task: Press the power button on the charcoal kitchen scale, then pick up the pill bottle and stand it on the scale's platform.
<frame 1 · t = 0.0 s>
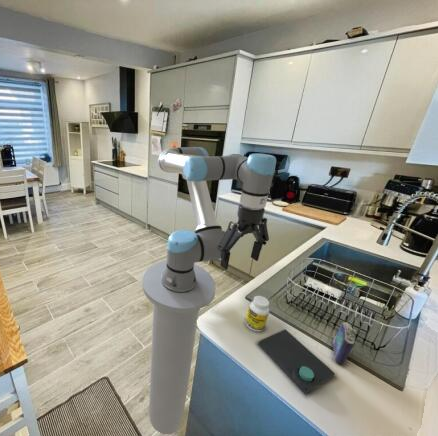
hand: (239, 263, 83), 20 cm above the counter, tool pointing down, fingers open, 13 cm apart
pill bottle: (254, 325, 84), on the counter
flask: (338, 353, 74), on the counter
scale button: (306, 373, 65), point 3 cm above the counter, slide at 0.1 cm
scale: (293, 359, 72), on the counter
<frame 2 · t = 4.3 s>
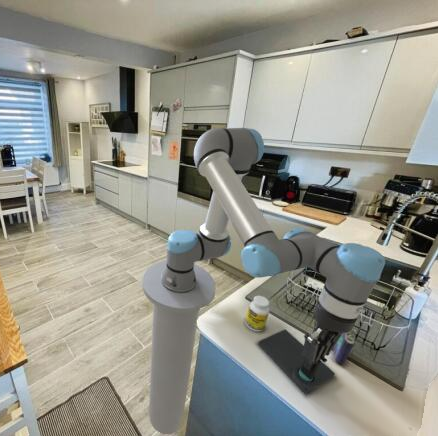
hand: (306, 373, 65), 4 cm above the counter, tool pointing down, fingers closed
scale button: (305, 375, 65), point 3 cm above the counter, slide at -0.7 cm, touching gripper
everything else where it was.
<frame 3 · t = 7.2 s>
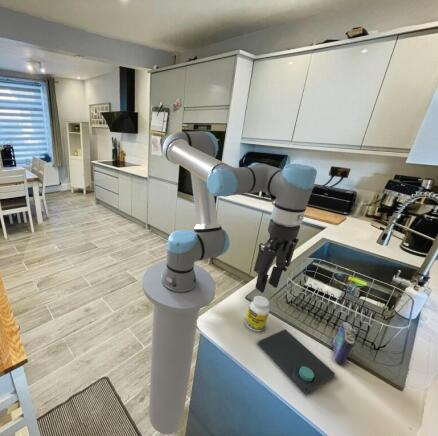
hand: (266, 287, 76), 17 cm above the counter, tool pointing down, fingers open, 5 cm apart
scale button: (306, 373, 65), point 3 cm above the counter, slide at 0.1 cm
everything else where it was.
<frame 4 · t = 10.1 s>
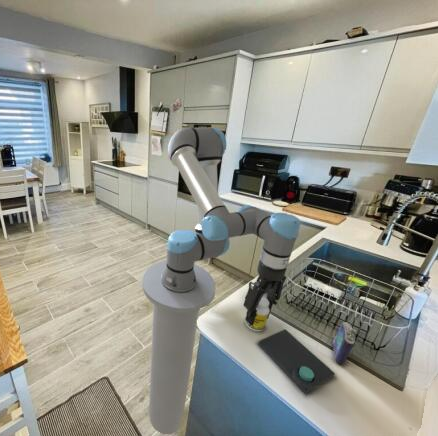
hand: (256, 319, 82), 3 cm above the counter, tool pointing down, fingers closed on pill bottle, 6 cm apart
pill bottle: (254, 325, 84), on the counter, touching gripper
everything else where it was.
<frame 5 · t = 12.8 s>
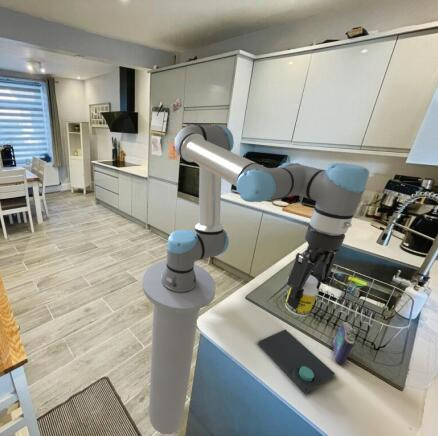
hand: (300, 301, 68), 19 cm above the counter, tool pointing down, fingers closed on pill bottle, 6 cm apart
pill bottle: (296, 309, 69), point 16 cm above the counter, touching gripper
everything else where it was.
when the fingers open (4 cm above the counter, at t = 16.0 s): pill bottle stays where it is, resting on scale.
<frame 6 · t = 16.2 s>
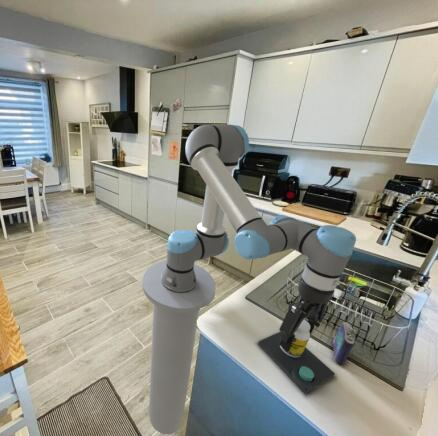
hand: (293, 342, 72), 4 cm above the counter, tool pointing down, fingers open, 8 cm apart
pill bottle: (290, 349, 74), point 1 cm above the counter, touching scale
everything else where it was.
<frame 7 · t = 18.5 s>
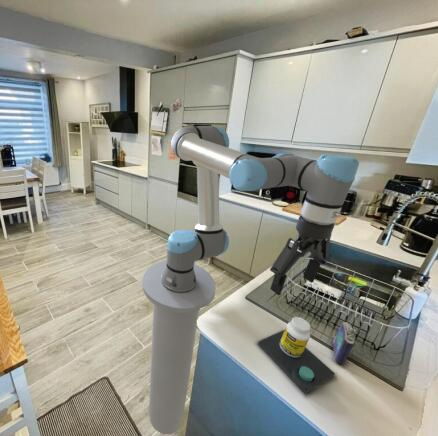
hand: (292, 285, 69), 22 cm above the counter, tool pointing down, fingers open, 13 cm apart
nothing on the counter moved.
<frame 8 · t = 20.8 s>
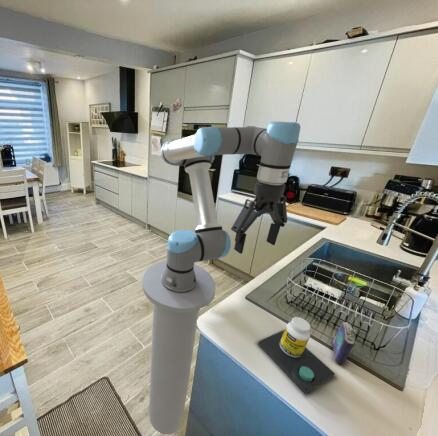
hand: (254, 247, 76), 29 cm above the counter, tool pointing down, fingers open, 13 cm apart
nothing on the counter moved.
at the end: scale button pushed in 0.8 cm at the most during the clip, back to where it started at the end; pill bottle inside the target area on the scale (2.4 cm from its centre), point 1.2 cm above the scale's base; pill bottle touching scale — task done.
